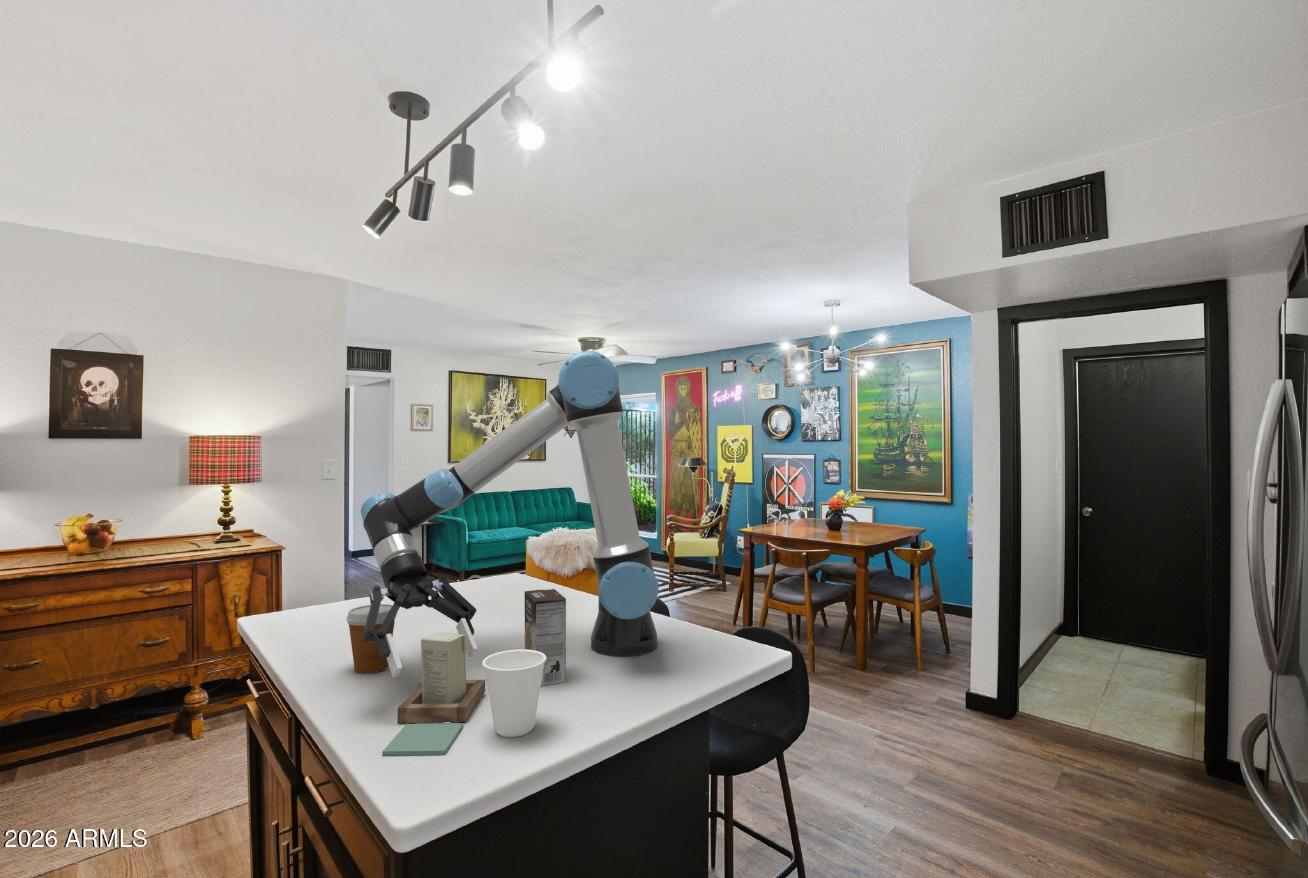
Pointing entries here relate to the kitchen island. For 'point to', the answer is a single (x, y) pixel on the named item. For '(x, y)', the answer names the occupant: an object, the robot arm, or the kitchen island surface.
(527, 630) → the coffee box
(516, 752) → the kitchen island surface
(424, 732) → the rubber mat
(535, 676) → the cup
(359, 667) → the disposable coffee cup
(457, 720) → the wooden square frame
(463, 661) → the skincare box
